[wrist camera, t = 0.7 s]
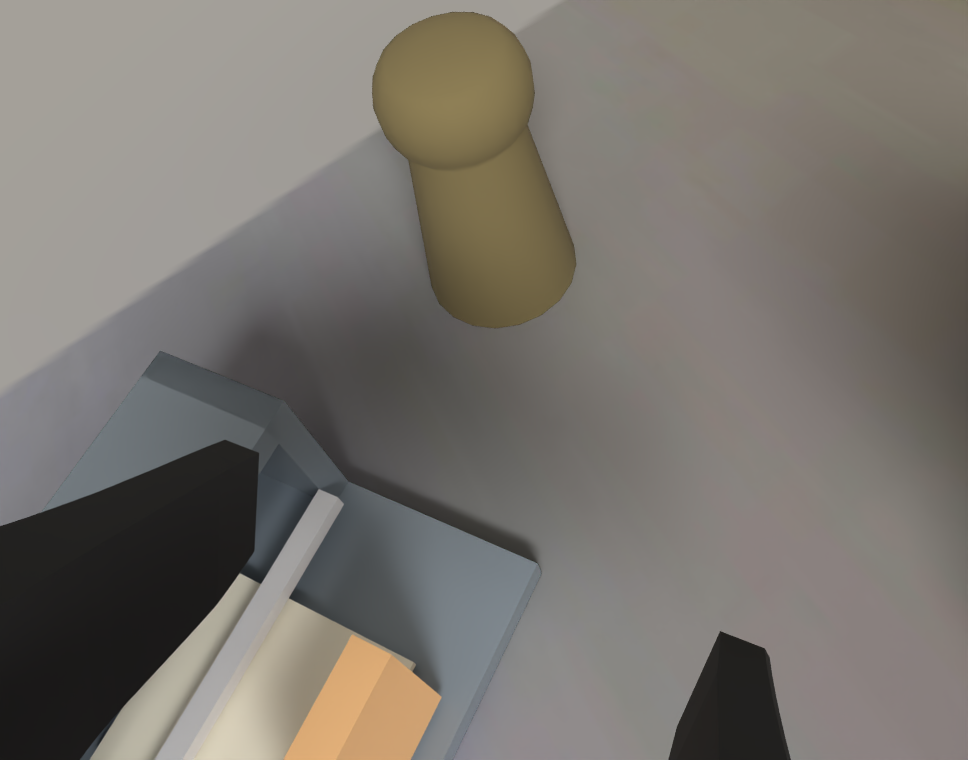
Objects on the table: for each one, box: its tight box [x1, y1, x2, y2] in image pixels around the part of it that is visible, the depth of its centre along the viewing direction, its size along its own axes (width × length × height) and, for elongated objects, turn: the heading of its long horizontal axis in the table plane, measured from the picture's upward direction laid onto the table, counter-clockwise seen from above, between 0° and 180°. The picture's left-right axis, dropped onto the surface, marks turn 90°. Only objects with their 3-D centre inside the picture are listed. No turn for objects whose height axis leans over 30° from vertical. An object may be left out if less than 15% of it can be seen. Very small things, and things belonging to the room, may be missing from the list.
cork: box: [372, 12, 576, 328], centre depth 32 cm, size 6×6×11 cm
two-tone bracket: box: [90, 573, 442, 760], centre depth 25 cm, size 9×7×6 cm
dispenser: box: [42, 351, 541, 760], centre depth 26 cm, size 13×16×7 cm
